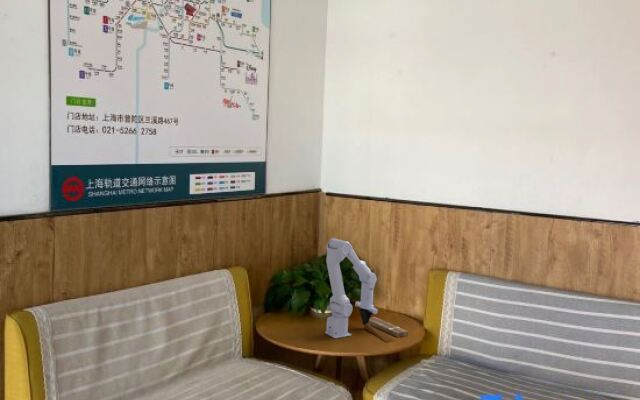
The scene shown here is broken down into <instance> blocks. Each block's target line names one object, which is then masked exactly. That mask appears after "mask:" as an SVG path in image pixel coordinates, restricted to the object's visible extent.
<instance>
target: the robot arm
mask: <svg viewBox="0 0 640 400" xmlns="http://www.w3.org/2000/svg"><path fill="white" fill-rule="evenodd" d="M325 247H326V259H325V261H326V262H325V263H326V267H327V271H328V276H329V282H330V287H331V293H332V296H331V297H330V298H329V310H330V311H331V314H332V315H331V316H329V317H327V319H326V329H325V332H324V334H326V335H328V336H330V337H331V338H334V339H339V338H345V337H351V336H352V333H350V332H348V330H349V329H348V328H349V317H350V316H351V314H352V312H353V307H354V306H353V305H352V304H351V302H350V298H348V297H347V295H346V292H345V287H344V281H343V276H342V270H341V265H340V263H341V262H342V261H344V259H345V258H347V259H348V260H349V262H351V264H352V265H353V267H352V268H353V270H354V271H355V273H356V274H357V275H358V278H359V279H358V280H359V282H360V283H361V287H360V288H361V290H360V301H355V304H354V305H355V307H359V309H358V313H359V314H360V317H361V322H362V325H363V326H365V324H366V323H368V322H369V319H370V318H371V317H372V315H373V314H374V315H377V314H378V311H379V309H377V308H376V307H374V304H373V303H374V289H375V286H376V283H377V281H378V278H377V275H376V273H375V272H372V271H371V268H369V267H368V264H367V262H366V261H364V260H360V259H359V256H358V255H357V254H356V252H355V250H354V248H353V245H351V243H350V242H349V241H347V240H343V239H342V240H341V239H338V238H335V237H332V238H330V239H329V240H328V242H327V243H326V246H325Z"/></svg>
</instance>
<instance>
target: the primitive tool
mask: <svg viewBox="0 0 640 400" xmlns="http://www.w3.org/2000/svg"><path fill="white" fill-rule="evenodd" d="M363 329H364V330H366V331H368V332H370V333H371V334H373V335H374V336H376V337H377V338H378V339H380V340H382V341H381V342H384V343H387V344H388V343H392V342H396V340H395V339H394V338H392V337H390V336H388V335H387V334H385V333H383V332H382V331H380V330H378V329H376V327H374V326H372V325H370V324H369V323H366V324H365V325H363Z"/></svg>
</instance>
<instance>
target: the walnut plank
mask: <svg viewBox="0 0 640 400" xmlns="http://www.w3.org/2000/svg"><path fill="white" fill-rule="evenodd" d="M368 323H369V324H370V326H372V327H373V328H375V329H376V328H377V329H379V330H381V331H384V332H385V333H387V334H390V335H392V336H394V337H396V338H401V337H406V336H407V335H408V334H409V333H408V330H406V329H404V328H401V327H399V326H397V325H396V324H395V325H394V324H392V323H390V322H388V321H386V320H383V319H381V318H378V317H376V316H371V317H370V319H369V322H368ZM407 337H408V336H407Z"/></svg>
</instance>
